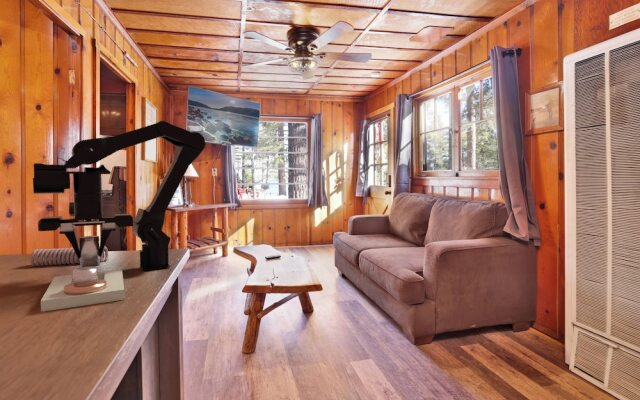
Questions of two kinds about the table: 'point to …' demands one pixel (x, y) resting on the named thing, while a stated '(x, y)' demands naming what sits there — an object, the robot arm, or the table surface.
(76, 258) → the coil
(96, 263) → the loose cylinder
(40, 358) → the table surface
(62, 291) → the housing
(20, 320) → the table surface
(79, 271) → the copper flanged knob
